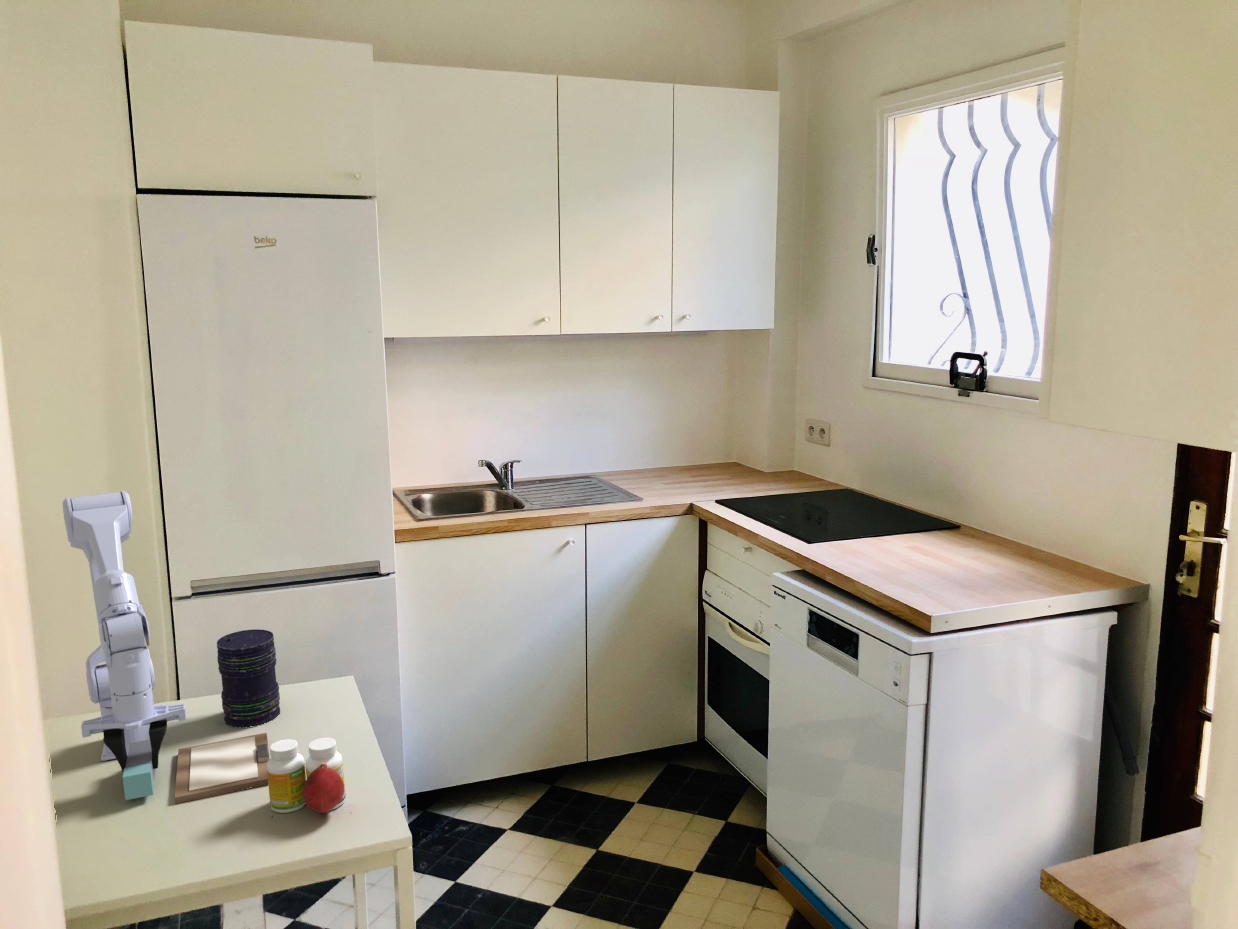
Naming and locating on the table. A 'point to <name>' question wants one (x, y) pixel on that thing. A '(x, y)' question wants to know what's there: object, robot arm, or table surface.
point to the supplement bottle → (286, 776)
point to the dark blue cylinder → (248, 678)
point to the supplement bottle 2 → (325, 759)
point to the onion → (323, 789)
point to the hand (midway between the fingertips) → (140, 768)
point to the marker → (139, 771)
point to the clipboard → (221, 767)
